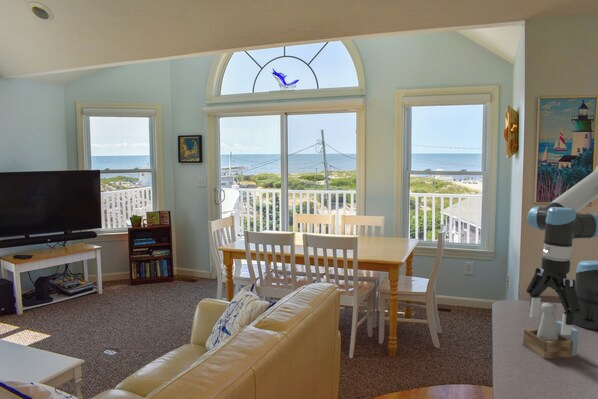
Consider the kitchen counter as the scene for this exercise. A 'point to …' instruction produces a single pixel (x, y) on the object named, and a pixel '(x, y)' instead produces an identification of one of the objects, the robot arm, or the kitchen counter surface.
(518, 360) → the kitchen counter surface
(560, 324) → the pale blue lid slab
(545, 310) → the salt shaker
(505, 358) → the kitchen counter surface
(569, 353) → the open wooden crate
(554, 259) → the robot arm
